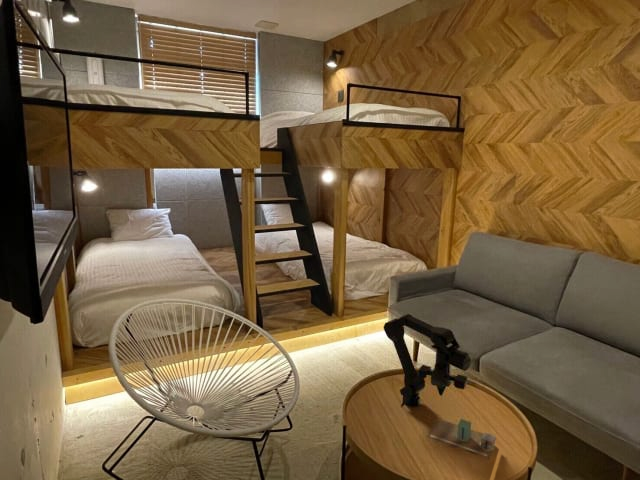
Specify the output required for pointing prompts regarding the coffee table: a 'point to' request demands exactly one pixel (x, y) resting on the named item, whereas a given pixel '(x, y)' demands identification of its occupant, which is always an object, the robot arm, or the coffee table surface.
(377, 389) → the coffee table surface
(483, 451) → the board
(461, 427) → the sage green box
